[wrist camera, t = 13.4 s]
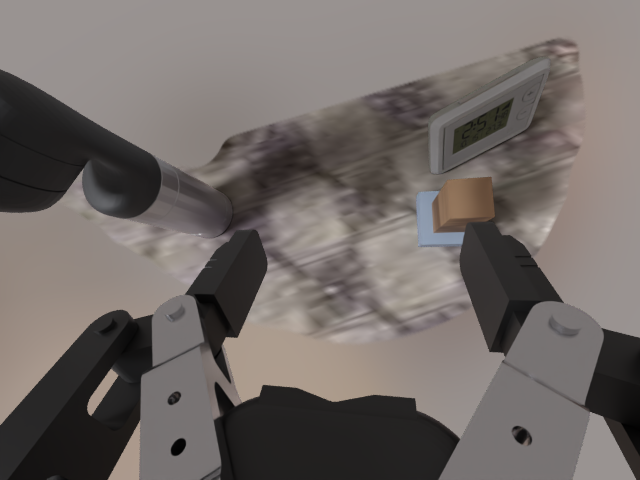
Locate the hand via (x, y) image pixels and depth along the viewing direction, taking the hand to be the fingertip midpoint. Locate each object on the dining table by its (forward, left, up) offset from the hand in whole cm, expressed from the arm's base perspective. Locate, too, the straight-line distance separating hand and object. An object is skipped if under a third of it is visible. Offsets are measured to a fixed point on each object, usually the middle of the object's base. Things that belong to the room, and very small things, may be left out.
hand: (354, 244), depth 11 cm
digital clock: (+16, +21, -35) cm, 43 cm away
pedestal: (+11, +8, -35) cm, 37 cm away
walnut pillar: (+11, +8, -32) cm, 34 cm away
